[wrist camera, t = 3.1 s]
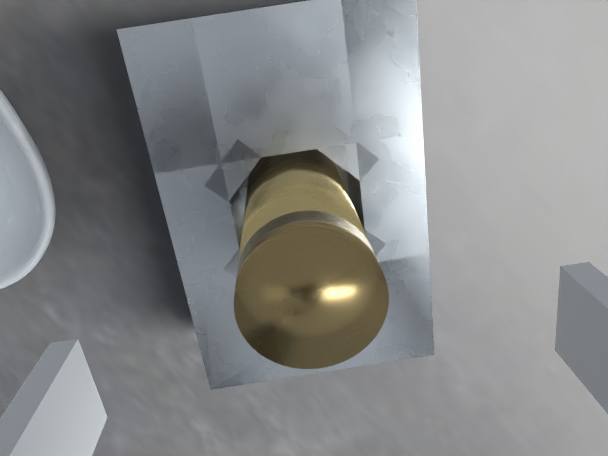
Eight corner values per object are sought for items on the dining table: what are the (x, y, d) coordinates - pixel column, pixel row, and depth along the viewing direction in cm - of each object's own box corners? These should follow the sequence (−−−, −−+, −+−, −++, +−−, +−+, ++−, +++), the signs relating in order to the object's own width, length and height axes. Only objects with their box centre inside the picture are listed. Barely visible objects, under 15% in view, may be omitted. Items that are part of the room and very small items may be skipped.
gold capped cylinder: (256, 231, 30) (248, 379, 18) (240, 146, 28) (219, 247, 16) (343, 218, 30) (394, 356, 18) (333, 132, 28) (382, 222, 16)
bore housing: (220, 326, 33) (210, 389, 27) (148, 26, 26) (116, 29, 20) (406, 297, 33) (434, 354, 28) (384, -10, 26) (415, -16, 21)
